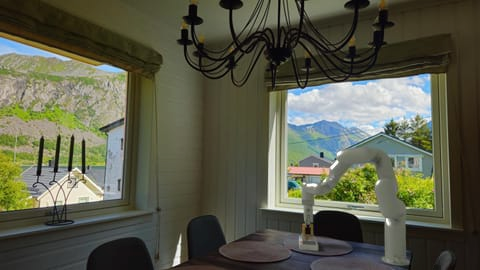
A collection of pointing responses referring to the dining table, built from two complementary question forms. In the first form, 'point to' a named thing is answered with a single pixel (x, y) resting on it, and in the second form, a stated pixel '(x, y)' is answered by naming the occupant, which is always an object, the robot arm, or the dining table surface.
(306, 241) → the breaker panel
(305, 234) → the breaker lever
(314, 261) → the dining table surface
